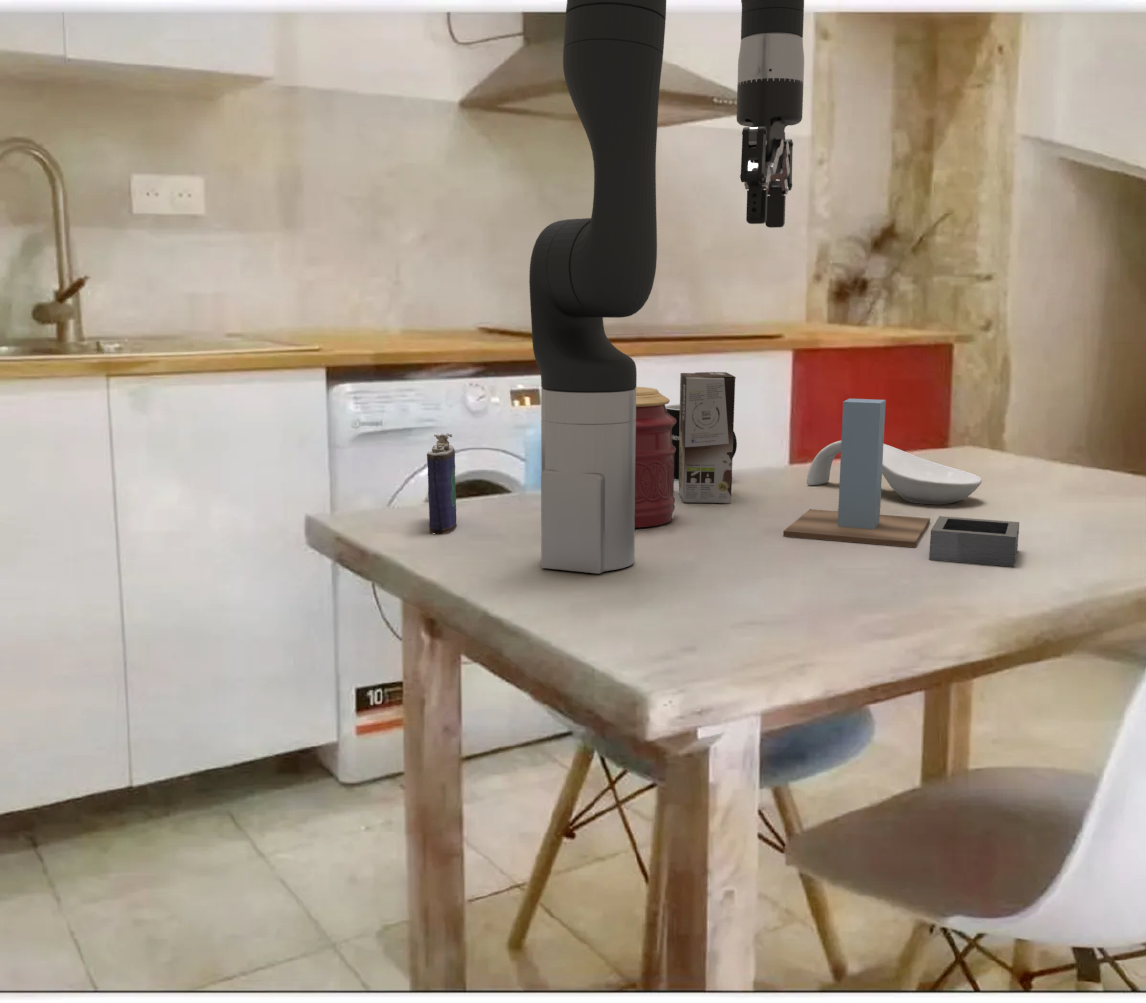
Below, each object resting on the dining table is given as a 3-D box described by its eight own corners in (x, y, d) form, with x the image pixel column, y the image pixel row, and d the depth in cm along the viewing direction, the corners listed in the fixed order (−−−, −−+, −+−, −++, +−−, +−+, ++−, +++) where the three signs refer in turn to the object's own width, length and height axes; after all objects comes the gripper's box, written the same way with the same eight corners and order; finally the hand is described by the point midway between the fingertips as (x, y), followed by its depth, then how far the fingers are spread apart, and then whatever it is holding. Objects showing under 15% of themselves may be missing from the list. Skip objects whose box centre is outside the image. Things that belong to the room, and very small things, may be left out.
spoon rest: (995, 502, 150) (999, 447, 149) (953, 514, 142) (956, 456, 140) (836, 481, 166) (838, 431, 165) (789, 491, 158) (791, 438, 157)
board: (914, 547, 122) (915, 542, 122) (783, 536, 127) (783, 531, 127) (929, 523, 135) (930, 518, 135) (809, 514, 140) (809, 509, 140)
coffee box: (733, 503, 147) (736, 376, 144) (682, 503, 147) (684, 375, 144) (725, 491, 156) (728, 370, 153) (677, 491, 156) (679, 370, 153)
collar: (1013, 566, 114) (1015, 537, 113) (928, 559, 117) (930, 530, 116) (1017, 550, 121) (1019, 522, 120) (937, 543, 124) (939, 516, 123)
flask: (434, 518, 137) (433, 428, 135) (459, 518, 137) (458, 428, 135) (427, 534, 128) (425, 438, 126) (453, 535, 128) (452, 438, 126)
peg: (874, 529, 128) (880, 403, 126) (837, 526, 130) (843, 401, 127) (879, 522, 132) (885, 399, 129) (844, 519, 133) (849, 398, 131)
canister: (544, 523, 134) (544, 370, 131) (595, 505, 146) (596, 364, 142) (647, 534, 128) (649, 374, 125) (691, 514, 140) (694, 367, 136)
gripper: (787, 68, 125) (782, 222, 128) (816, 88, 138) (811, 227, 141) (721, 73, 128) (717, 223, 131) (754, 92, 141) (750, 228, 144)
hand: (765, 225), depth 136 cm, fingers open, 8 cm apart
